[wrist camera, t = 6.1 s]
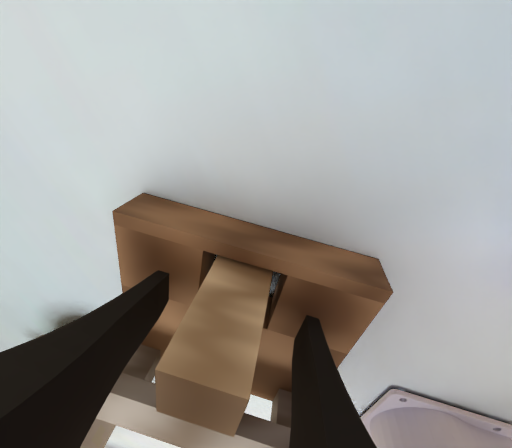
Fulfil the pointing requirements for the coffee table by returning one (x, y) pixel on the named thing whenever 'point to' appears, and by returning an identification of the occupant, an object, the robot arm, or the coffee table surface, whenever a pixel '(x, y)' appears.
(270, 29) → the coffee table surface
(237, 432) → the socket block
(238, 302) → the peg
